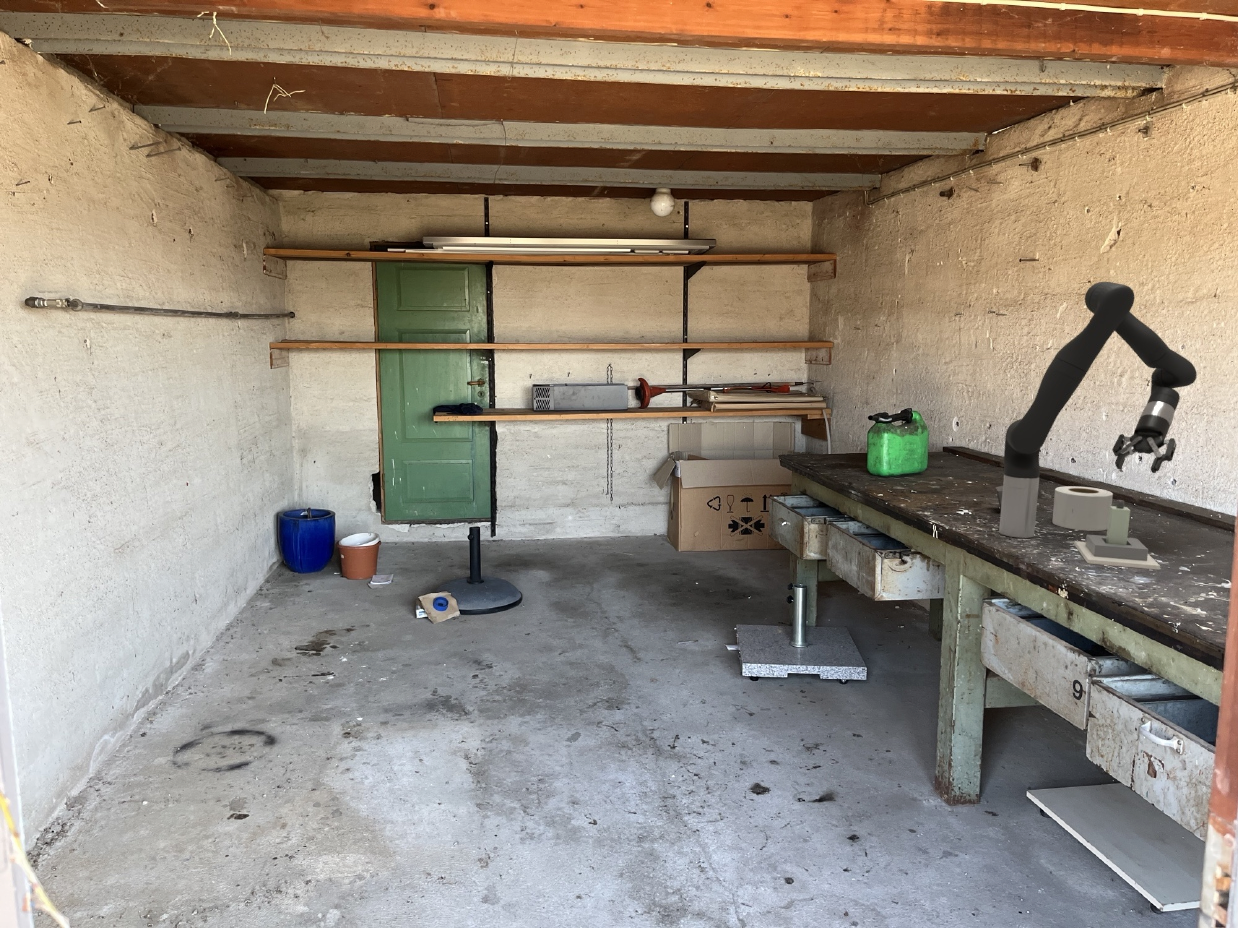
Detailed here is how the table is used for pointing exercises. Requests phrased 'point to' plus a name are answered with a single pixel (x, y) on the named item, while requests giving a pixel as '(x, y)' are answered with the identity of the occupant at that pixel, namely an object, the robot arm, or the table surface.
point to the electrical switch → (999, 494)
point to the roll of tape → (1082, 508)
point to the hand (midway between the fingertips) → (1135, 469)
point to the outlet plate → (1114, 560)
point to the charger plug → (1118, 524)
